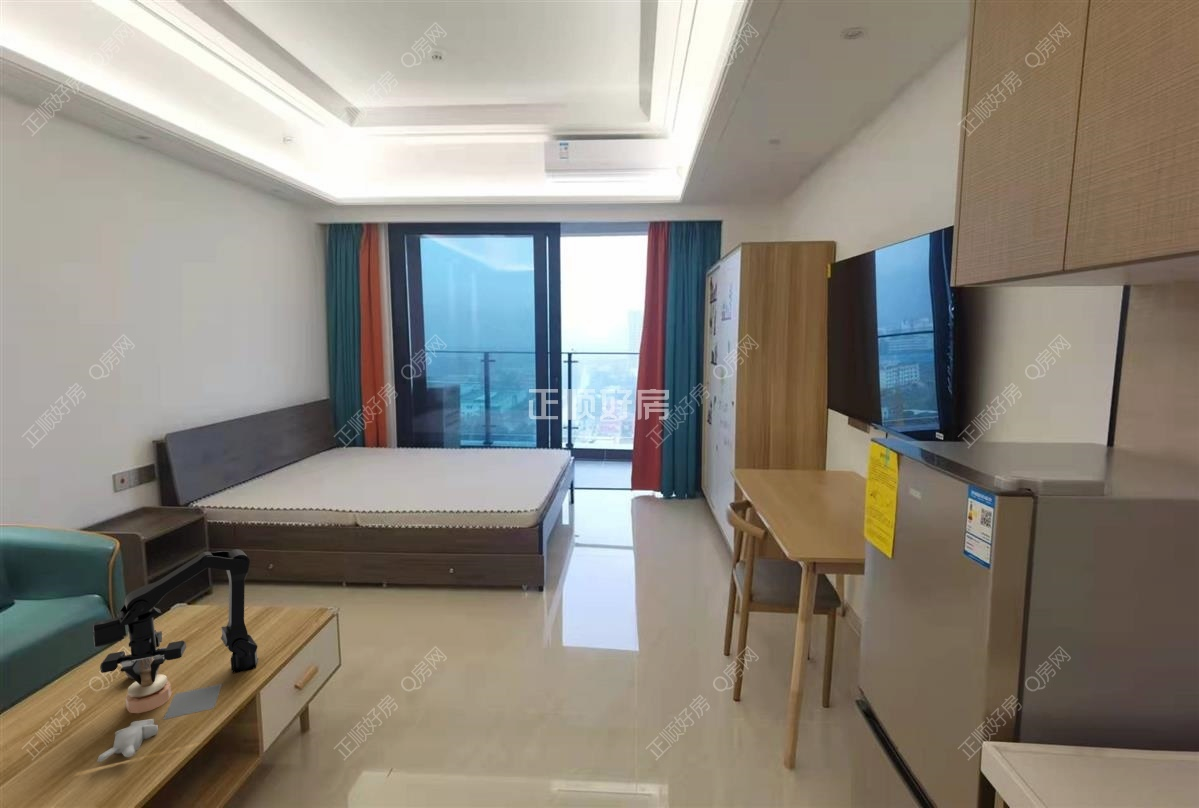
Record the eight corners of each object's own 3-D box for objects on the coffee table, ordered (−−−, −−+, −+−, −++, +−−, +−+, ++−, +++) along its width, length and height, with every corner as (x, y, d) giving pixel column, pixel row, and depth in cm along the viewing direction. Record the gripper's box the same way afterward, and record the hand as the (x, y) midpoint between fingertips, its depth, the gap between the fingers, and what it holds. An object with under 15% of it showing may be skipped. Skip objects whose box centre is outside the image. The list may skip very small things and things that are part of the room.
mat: (222, 685, 171) (222, 683, 171) (213, 710, 160) (213, 708, 160) (175, 695, 166) (175, 693, 166) (163, 721, 156) (162, 719, 155)
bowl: (175, 688, 170) (174, 676, 169) (165, 709, 161) (163, 696, 160) (134, 696, 165) (133, 684, 165) (122, 718, 156) (120, 705, 156)
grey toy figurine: (165, 711, 154) (135, 744, 140) (166, 729, 154) (136, 764, 140) (125, 717, 152) (90, 751, 137) (126, 735, 152) (91, 771, 137)
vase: (137, 683, 171) (134, 657, 170) (120, 680, 173) (117, 655, 172) (159, 670, 178) (156, 645, 177) (142, 667, 180) (139, 642, 178)
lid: (171, 674, 168) (169, 659, 167) (162, 692, 160) (160, 676, 159) (134, 681, 164) (132, 666, 164) (123, 700, 156) (121, 684, 156)
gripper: (188, 613, 171) (193, 659, 173) (112, 626, 163) (118, 674, 166) (178, 632, 161) (183, 680, 163) (96, 646, 153) (102, 697, 156)
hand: (147, 682), depth 162 cm, fingers closed on lid, 3 cm apart
